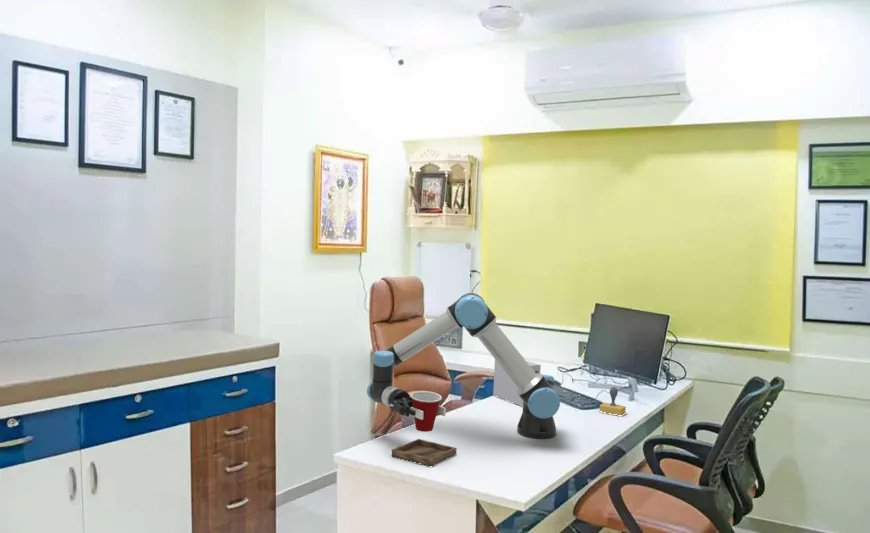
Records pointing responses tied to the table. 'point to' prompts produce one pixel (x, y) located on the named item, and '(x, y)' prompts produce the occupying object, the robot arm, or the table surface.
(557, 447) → the table surface
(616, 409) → the rubber stamp
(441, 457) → the cup tray
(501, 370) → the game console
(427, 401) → the plastic cup
